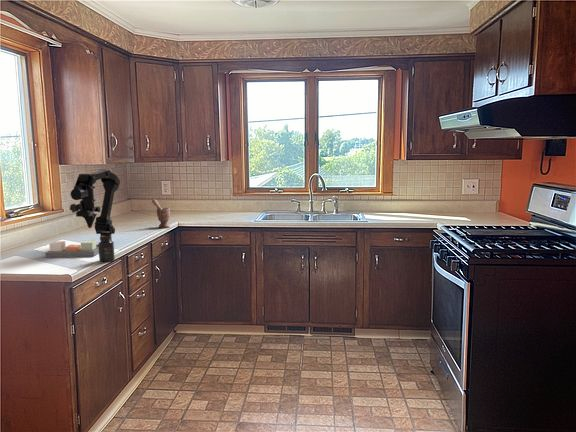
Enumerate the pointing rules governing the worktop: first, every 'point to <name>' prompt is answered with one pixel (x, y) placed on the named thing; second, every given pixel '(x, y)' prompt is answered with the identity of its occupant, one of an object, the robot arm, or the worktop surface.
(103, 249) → the supplement bottle
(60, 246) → the cream button
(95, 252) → the console
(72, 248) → the terracotta button
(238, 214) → the worktop surface
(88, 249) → the sage button
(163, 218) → the mortar and pestle
